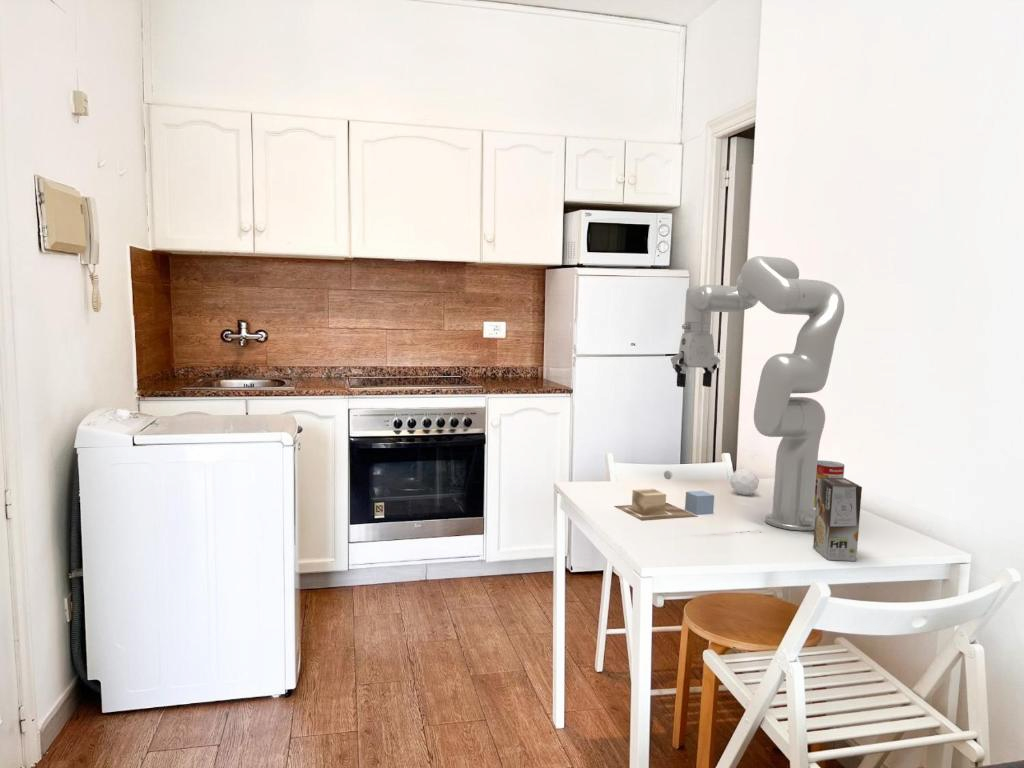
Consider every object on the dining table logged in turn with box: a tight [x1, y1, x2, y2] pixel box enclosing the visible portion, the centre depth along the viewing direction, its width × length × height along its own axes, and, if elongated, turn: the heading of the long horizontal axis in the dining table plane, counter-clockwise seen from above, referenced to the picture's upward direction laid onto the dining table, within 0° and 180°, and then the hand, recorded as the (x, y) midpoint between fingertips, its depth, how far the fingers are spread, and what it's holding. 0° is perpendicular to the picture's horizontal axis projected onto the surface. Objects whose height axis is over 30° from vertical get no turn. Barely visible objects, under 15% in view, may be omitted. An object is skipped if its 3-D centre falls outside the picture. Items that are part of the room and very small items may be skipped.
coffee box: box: [812, 477, 863, 562], centre depth 162 cm, size 9×6×16 cm
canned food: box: [814, 459, 845, 508], centre depth 206 cm, size 8×8×12 cm
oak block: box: [631, 488, 667, 515], centre depth 188 cm, size 6×6×5 cm
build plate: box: [613, 502, 699, 522], centre depth 189 cm, size 14×16×1 cm
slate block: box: [684, 490, 715, 516], centre depth 190 cm, size 5×5×6 cm
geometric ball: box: [730, 467, 760, 496], centre depth 217 cm, size 8×8×8 cm
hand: (693, 386), depth 222 cm, fingers open, 9 cm apart
